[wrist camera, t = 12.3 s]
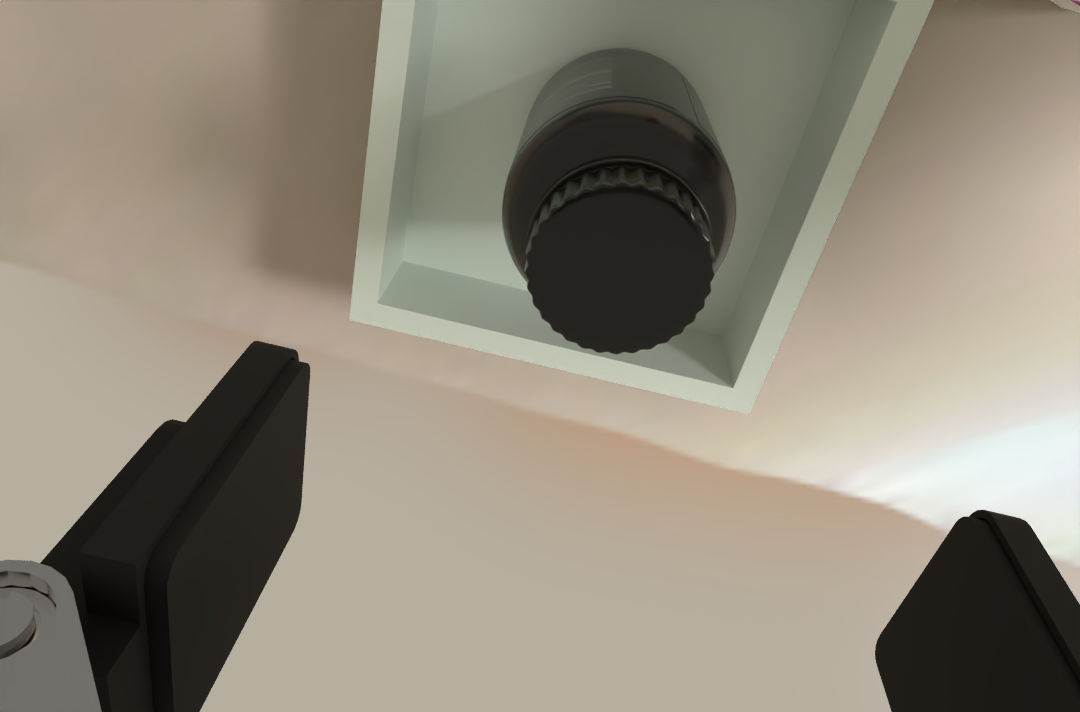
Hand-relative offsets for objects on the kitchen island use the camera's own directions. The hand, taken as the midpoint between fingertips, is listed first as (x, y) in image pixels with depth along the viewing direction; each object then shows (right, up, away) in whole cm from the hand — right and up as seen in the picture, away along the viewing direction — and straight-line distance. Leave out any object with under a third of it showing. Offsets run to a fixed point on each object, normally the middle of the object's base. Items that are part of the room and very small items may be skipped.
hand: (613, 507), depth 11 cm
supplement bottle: (+2, +10, +19) cm, 22 cm away
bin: (+2, +11, +19) cm, 22 cm away
